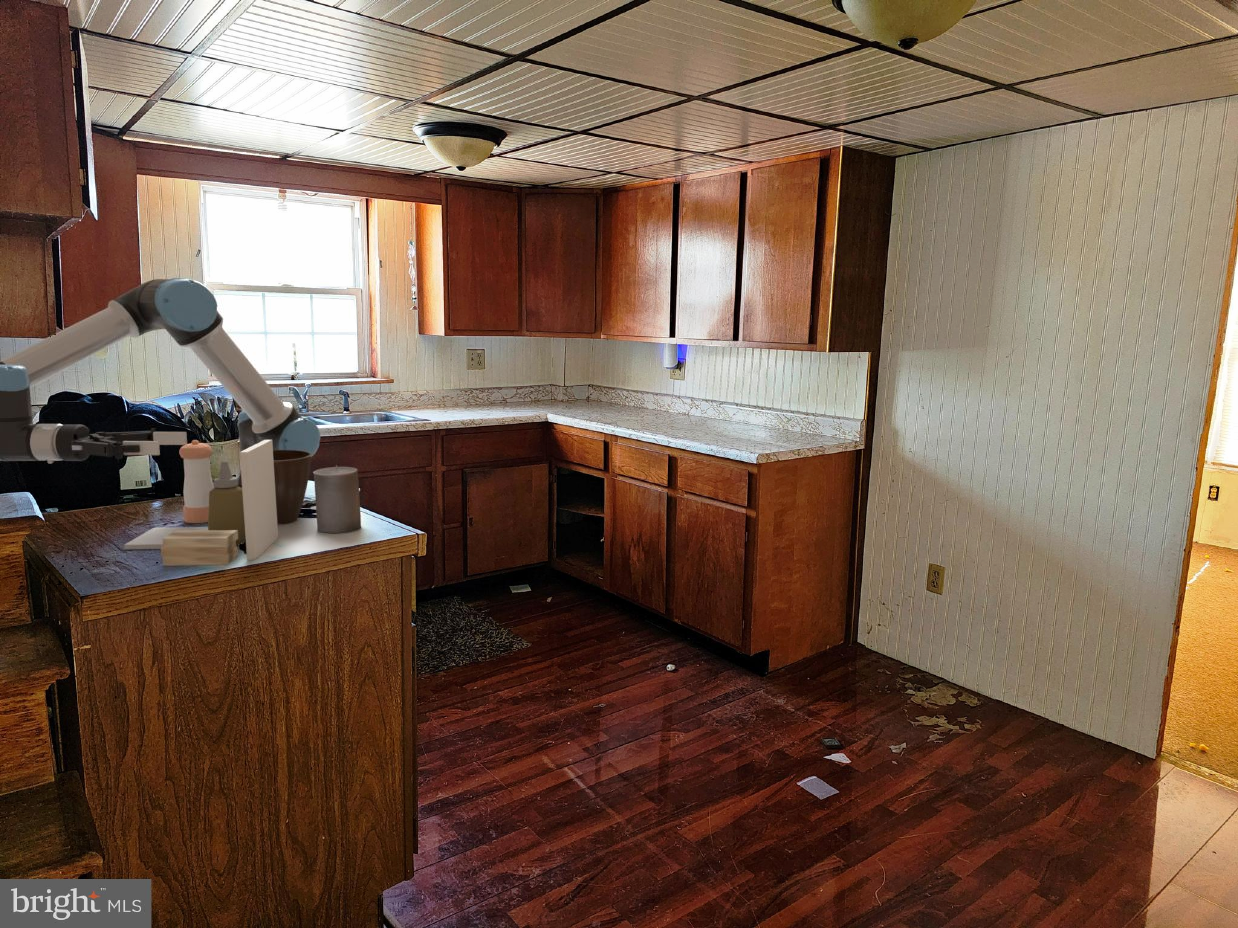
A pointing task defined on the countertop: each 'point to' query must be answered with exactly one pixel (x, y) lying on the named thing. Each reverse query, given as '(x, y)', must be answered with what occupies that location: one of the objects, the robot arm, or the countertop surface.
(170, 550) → the offcut stack
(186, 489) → the pepper shaker
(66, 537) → the countertop surface
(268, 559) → the countertop surface
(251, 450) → the panel
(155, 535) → the grey mat
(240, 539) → the squeeze bottle
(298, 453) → the plant pot
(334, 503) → the pillar candle
